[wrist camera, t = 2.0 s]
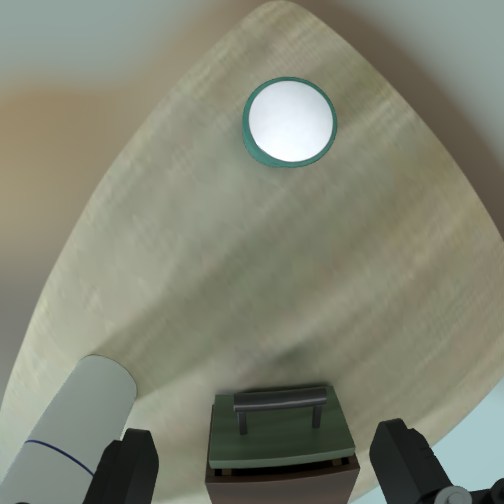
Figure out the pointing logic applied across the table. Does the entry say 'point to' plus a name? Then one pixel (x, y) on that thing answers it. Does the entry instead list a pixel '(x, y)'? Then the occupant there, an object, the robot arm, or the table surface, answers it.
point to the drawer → (278, 432)
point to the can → (288, 123)
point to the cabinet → (283, 484)
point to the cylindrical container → (71, 435)
